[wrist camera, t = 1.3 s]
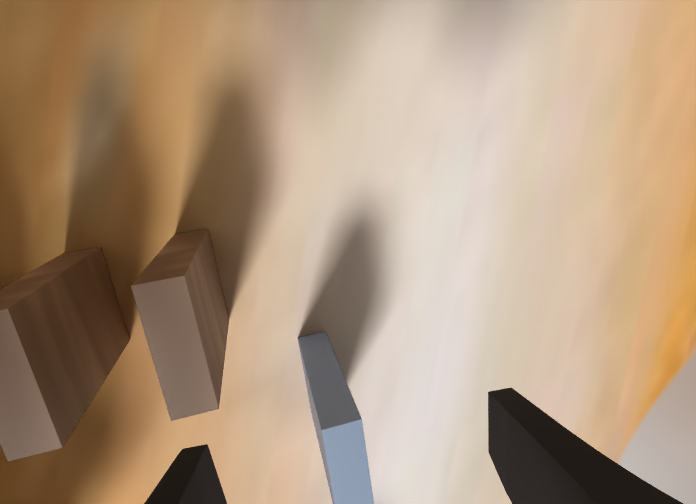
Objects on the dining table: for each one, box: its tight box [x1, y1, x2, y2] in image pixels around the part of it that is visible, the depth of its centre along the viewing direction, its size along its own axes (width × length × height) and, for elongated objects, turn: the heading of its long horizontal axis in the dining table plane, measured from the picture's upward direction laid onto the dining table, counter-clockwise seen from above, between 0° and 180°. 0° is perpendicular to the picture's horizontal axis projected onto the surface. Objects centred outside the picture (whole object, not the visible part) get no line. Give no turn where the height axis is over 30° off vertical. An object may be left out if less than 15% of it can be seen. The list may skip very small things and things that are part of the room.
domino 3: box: [298, 332, 374, 504], centre depth 20 cm, size 2×5×8 cm, turn 8°
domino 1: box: [0, 247, 130, 461], centre depth 16 cm, size 2×5×8 cm, turn 8°
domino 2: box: [131, 229, 229, 421], centre depth 17 cm, size 2×5×8 cm, turn 8°
